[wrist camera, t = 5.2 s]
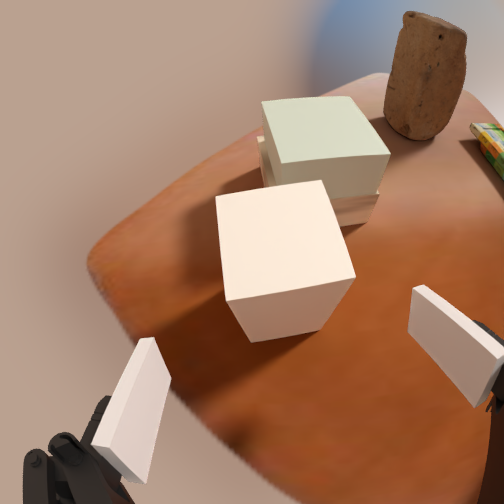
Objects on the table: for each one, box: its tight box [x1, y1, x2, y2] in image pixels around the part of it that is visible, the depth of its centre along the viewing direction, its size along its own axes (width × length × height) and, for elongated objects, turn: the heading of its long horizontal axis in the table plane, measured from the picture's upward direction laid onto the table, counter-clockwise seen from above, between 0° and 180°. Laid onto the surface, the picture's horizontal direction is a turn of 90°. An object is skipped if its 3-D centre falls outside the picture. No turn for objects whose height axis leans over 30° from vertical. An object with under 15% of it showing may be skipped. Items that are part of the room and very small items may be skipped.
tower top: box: [261, 96, 391, 199], centre depth 23 cm, size 9×9×5 cm
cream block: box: [216, 180, 356, 343], centre depth 19 cm, size 6×6×12 cm
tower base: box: [257, 136, 379, 227], centre depth 27 cm, size 10×10×5 cm
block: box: [383, 11, 467, 140], centre depth 26 cm, size 11×8×20 cm
